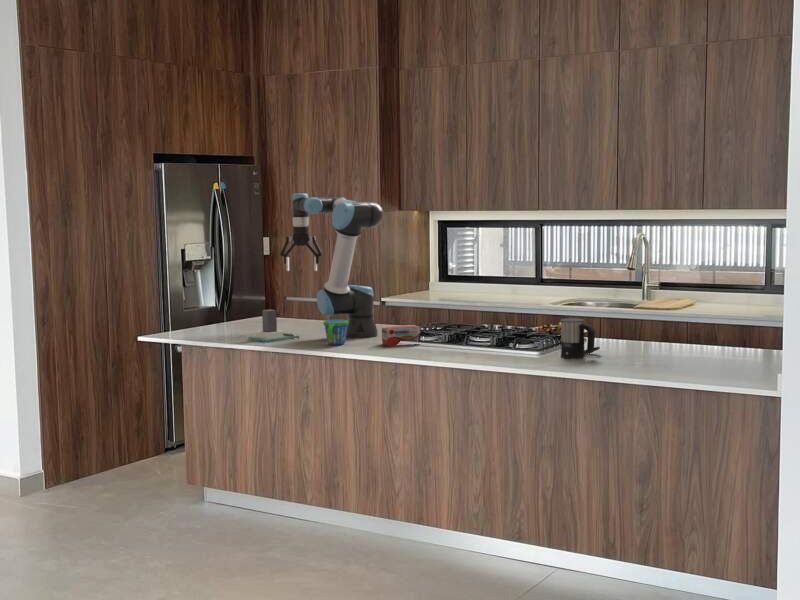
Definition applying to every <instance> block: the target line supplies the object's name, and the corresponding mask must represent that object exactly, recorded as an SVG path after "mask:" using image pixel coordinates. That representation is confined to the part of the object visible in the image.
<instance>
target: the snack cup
mask: <svg viewBox="0 0 800 600" xmlns="http://www.w3.org/2000/svg"><path fill="white" fill-rule="evenodd" d="M323 325H324V328H325V329H324V330H325V335H326V341H327V344H328V345H330V346H342V345H344V344H345V343H346V339H347V338H346V332H347V325H348V319H339V318H338V319H327V320H324V321H323Z"/></svg>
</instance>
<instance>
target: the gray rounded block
mask: <svg viewBox="0 0 800 600" xmlns="http://www.w3.org/2000/svg"><path fill="white" fill-rule="evenodd" d="M261 311H262V312H261V313H262V316H261V317H262V331H263V332H267V333H270V332H277V330H278V328H277V327H278V325H277V322H278V321H277V310H275V309H262V310H261Z"/></svg>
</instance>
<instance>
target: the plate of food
mask: <svg viewBox="0 0 800 600" xmlns="http://www.w3.org/2000/svg"><path fill="white" fill-rule="evenodd" d="M535 328H537V329H538V330H540V331H550V330H553V331H561V322H558V325H556V324H555V325H553V324H550V323H546V324H544V323H543V324H541V326H536V327H535ZM584 333H588V332H587V330H585V329H584Z"/></svg>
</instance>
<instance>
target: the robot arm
mask: <svg viewBox="0 0 800 600" xmlns="http://www.w3.org/2000/svg"><path fill="white" fill-rule="evenodd" d="M291 198H292V200H291V203H292V204H291V205H292V236H286V238H285V239H286V240H285V242H284V245H283V247H282V249H281V252H280V254H279V255H280V257H283V263H284V265H286V269H285V270H286V272H290V257H289V256H290V254H291V252H292V251H294V249H295V247H297V246H298V247H300V246H301V247H304V246H306V247H307V248H308V249H309V250H310V252H311V253H312V254H313V255H314V257H313V263H314V264H313V265H314V267H313V270H314V271H313V272H317V271H318V265H320V257H322V256H323V252H322V249H321V247H320V245H319V244H318V242H317V237H316V236H314V235H313V236H310V227H309V225H310V221H309V220H310V217H309V215H316V214H331V220H332V221H331V223H332V226H333V228H334V231H335V232H336V233H337V235H336V240H335V245H334V246H335V247H334V250H333V251H334V252H333V257H332V261H331V266H330V267H331V268H330V272H329V277H328V281H327V282H325V283H324V285H323V289H321V290H318V291H317V294H316V303H317V307H318V310H319V311H320V313H321V314H322V315H324V316H330V317H333V316H341V315H348V316H347V318H348V319H347V321H348V325H347V332H346V337H347V338H353V339H354V338H356V339H357V338H358V339H359V338H373V337H377V336H378V335H379V334H378V333H379V332H378V331H379V330H378V328H377V325H376V321H375V319H374V314H375V313H374V298H375V296H374V289H373V287H371V286H364V285H355V284H349V278H350V273H351V269H352V264H353V259H354V256H355V255H354V254H355V249H356V245H357V244H356V243H357V240H358V237H360V236H361V235H362V233H363V230H364V229H372V228H375V227H377V226H379V224H381V223H382V221H383V219H384V216H385V215H384V209H383V208H382V206H381V205H380V204H379V203H377V202H374V201H355V200H350V199H346V198H345V197H340V196H334V197H332V196H331V197H321V196H320V197H317V196H316V197H315V196H314V197H312V196H310V197H309V194H308V193H293V194H292V197H291ZM291 241H292V242H293V243H292V244H291V246H290V247H289V245H290V242H291ZM309 241H311V242H312V243H313V246H314V247H315V248H314V247H313V246H312V245H311V243H310V242H309ZM288 247H289V248H288ZM287 249H288V250H287ZM286 250H287V251H286Z"/></svg>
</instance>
